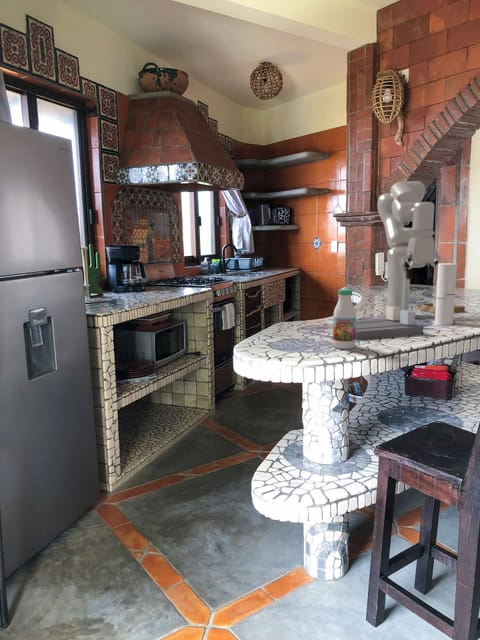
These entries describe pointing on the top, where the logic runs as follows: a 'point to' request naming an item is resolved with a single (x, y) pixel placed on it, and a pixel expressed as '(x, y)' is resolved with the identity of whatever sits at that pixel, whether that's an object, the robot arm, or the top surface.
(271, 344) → the top surface
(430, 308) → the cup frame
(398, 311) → the cream fader
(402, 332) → the fader console
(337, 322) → the milk bottle
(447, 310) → the cylindrical container
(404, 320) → the grey fader
